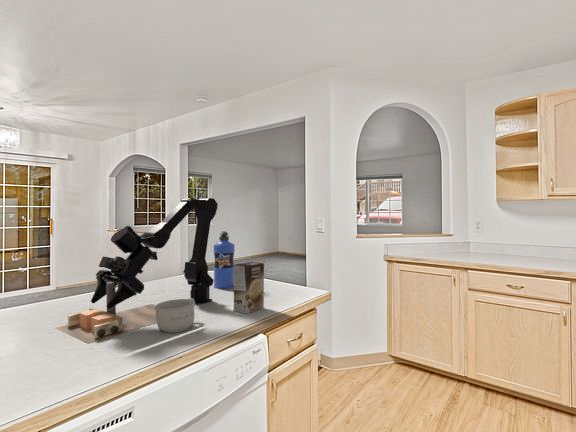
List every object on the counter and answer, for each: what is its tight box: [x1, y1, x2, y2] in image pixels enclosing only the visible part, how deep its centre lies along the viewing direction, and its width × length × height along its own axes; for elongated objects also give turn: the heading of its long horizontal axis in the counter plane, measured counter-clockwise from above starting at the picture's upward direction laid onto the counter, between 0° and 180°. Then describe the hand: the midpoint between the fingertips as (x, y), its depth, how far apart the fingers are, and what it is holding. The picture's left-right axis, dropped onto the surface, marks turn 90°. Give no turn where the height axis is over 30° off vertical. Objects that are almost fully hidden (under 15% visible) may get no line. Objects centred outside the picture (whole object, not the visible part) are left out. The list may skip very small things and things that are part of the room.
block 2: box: [91, 314, 113, 332], centre depth 97 cm, size 4×4×4 cm
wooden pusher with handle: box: [67, 282, 123, 338], centre depth 99 cm, size 10×18×12 cm, turn 55°
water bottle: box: [213, 231, 235, 290], centre depth 155 cm, size 9×9×25 cm
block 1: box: [79, 310, 101, 329], centre depth 101 cm, size 4×4×4 cm
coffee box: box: [233, 261, 265, 314], centre depth 120 cm, size 9×6×16 cm
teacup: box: [155, 297, 196, 334], centre depth 101 cm, size 14×11×8 cm
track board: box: [55, 303, 157, 345], centre depth 106 cm, size 31×20×1 cm, turn 145°
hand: (99, 305), depth 100 cm, fingers open, 9 cm apart
